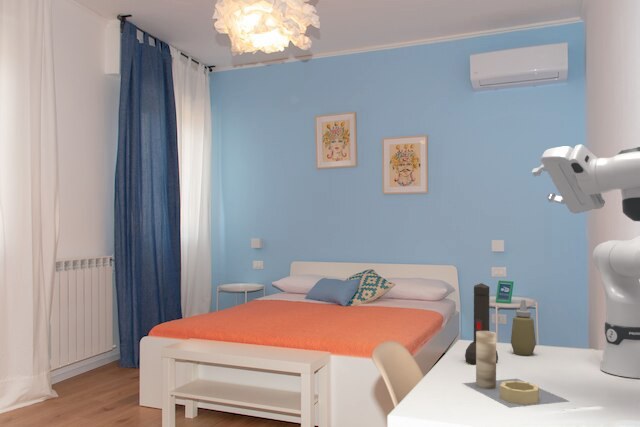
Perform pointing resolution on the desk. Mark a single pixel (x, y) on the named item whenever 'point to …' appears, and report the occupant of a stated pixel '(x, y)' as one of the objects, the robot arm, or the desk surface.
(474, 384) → the socket board
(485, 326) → the flashlight
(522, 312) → the squeeze bottle
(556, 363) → the desk surface
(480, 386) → the ash peg
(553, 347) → the desk surface
